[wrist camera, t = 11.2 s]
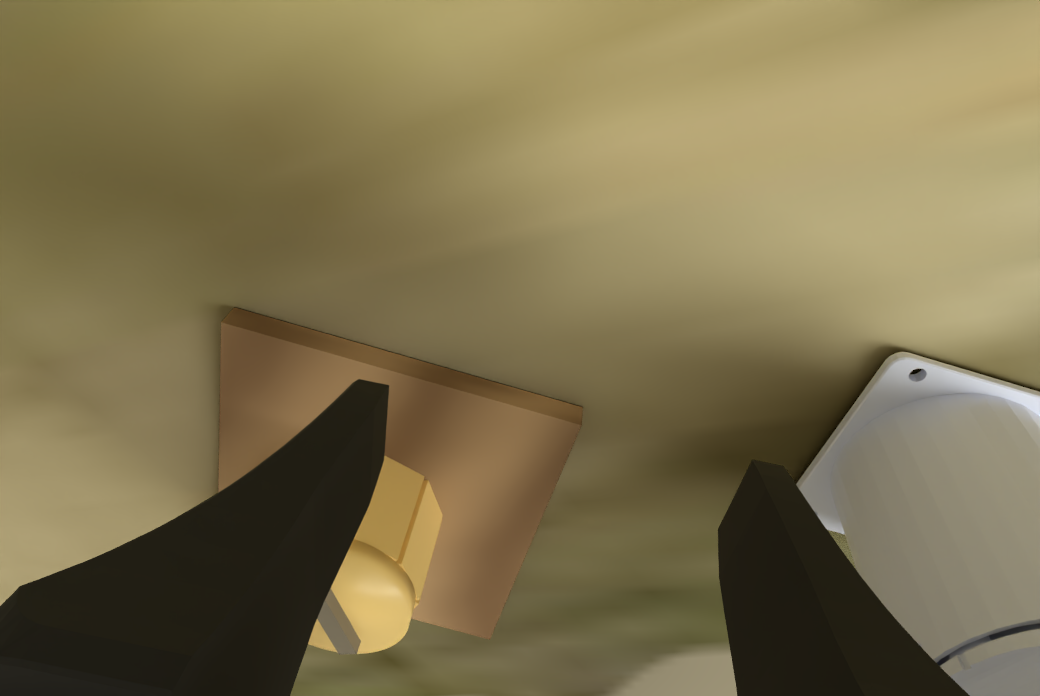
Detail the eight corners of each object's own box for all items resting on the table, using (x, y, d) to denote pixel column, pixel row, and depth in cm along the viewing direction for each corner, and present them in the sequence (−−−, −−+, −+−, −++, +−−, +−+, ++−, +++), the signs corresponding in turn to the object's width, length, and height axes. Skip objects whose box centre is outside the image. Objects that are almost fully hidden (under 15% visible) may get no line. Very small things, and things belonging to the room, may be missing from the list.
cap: (285, 458, 28) (221, 571, 23) (415, 446, 27) (374, 563, 22) (335, 551, 31) (287, 667, 26) (455, 544, 29) (426, 664, 25)
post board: (582, 407, 26) (577, 486, 23) (493, 620, 34) (479, 701, 31) (233, 307, 25) (176, 373, 22) (227, 549, 33) (183, 624, 30)
